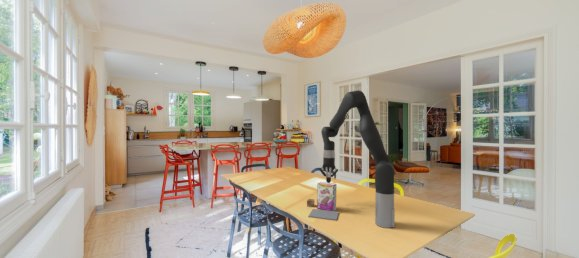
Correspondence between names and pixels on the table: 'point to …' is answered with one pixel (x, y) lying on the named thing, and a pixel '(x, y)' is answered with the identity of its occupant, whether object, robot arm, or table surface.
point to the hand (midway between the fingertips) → (328, 182)
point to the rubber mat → (324, 214)
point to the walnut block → (310, 203)
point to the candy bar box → (326, 196)
